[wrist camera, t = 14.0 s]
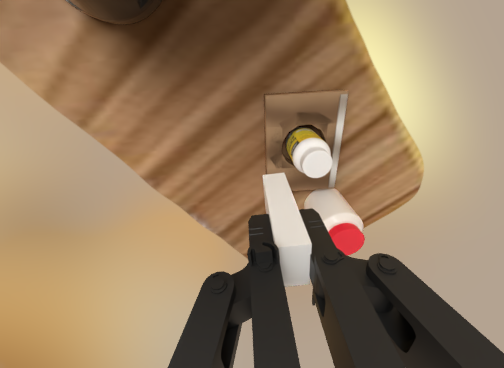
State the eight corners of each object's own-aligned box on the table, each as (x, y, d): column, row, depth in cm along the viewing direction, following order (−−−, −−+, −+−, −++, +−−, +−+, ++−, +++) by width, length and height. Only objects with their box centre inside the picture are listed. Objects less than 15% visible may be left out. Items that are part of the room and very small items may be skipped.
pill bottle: (348, 206, 43) (379, 246, 34) (315, 225, 45) (334, 267, 36) (332, 179, 40) (360, 214, 31) (296, 200, 42) (312, 239, 32)
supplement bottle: (285, 126, 35) (299, 145, 27) (318, 125, 35) (342, 143, 27) (284, 157, 38) (296, 183, 29) (314, 156, 38) (335, 182, 29)
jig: (263, 94, 33) (265, 95, 30) (341, 89, 33) (349, 91, 30) (266, 185, 40) (267, 193, 38) (329, 181, 40) (335, 189, 38)
